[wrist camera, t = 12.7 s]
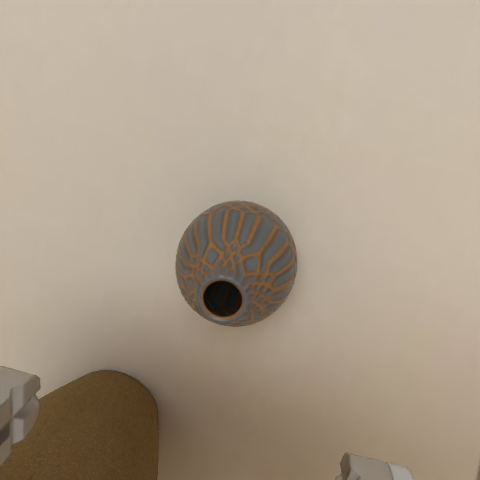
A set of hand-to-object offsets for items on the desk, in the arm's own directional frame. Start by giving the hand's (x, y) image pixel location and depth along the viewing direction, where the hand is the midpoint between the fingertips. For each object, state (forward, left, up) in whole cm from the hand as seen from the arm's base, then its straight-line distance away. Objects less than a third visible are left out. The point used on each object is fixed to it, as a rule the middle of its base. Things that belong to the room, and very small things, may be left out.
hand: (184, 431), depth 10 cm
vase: (0, 0, -16) cm, 16 cm away
